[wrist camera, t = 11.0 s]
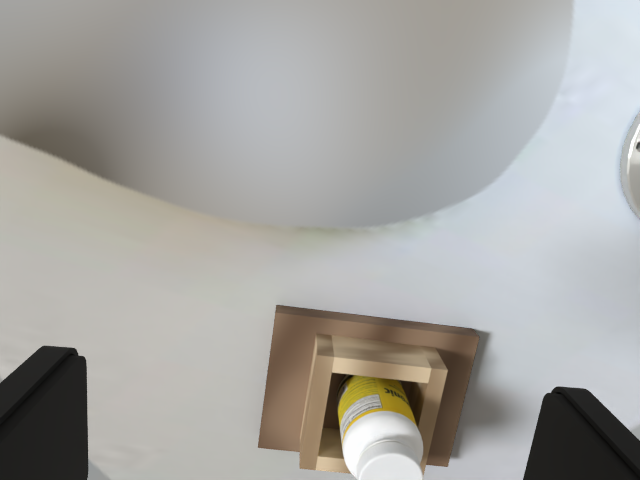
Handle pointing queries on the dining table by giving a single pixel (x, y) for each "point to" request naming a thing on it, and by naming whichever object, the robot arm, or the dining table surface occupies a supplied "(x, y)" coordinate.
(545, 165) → the dining table surface
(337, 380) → the socket board
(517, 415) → the dining table surface
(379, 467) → the supplement bottle
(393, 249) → the dining table surface
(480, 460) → the dining table surface
